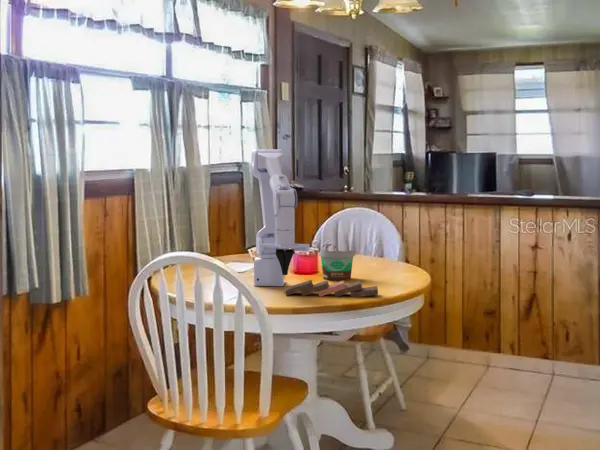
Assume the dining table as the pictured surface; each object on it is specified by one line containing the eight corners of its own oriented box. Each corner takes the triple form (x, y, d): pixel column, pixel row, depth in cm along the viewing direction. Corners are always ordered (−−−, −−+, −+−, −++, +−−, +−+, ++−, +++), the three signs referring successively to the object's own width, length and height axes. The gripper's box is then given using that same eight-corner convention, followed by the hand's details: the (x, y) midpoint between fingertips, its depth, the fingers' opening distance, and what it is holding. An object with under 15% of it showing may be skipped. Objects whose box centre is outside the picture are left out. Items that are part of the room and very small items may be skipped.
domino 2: (300, 291, 211) (326, 283, 210) (302, 288, 216) (327, 280, 215) (302, 296, 211) (327, 288, 210) (304, 293, 216) (328, 285, 215)
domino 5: (350, 292, 209) (377, 289, 208) (350, 289, 214) (377, 286, 213) (351, 297, 210) (378, 294, 209) (351, 294, 215) (377, 291, 214)
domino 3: (317, 291, 210) (343, 283, 209) (318, 288, 215) (343, 280, 214) (319, 296, 211) (344, 288, 210) (320, 293, 215) (345, 285, 214)
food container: (323, 282, 233) (323, 252, 232) (318, 279, 239) (319, 249, 238) (359, 281, 235) (359, 251, 234) (354, 277, 241) (354, 248, 240)
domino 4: (334, 292, 210) (360, 283, 209) (335, 288, 215) (360, 280, 214) (336, 297, 210) (361, 288, 209) (336, 293, 215) (362, 285, 214)
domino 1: (284, 290, 211) (310, 282, 210) (286, 287, 216) (311, 279, 215) (286, 295, 212) (311, 287, 211) (288, 292, 217) (313, 284, 216)
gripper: (258, 230, 209) (259, 276, 210) (307, 231, 207) (307, 277, 209) (262, 228, 216) (262, 272, 217) (310, 228, 214) (310, 273, 216)
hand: (285, 274), depth 213 cm, fingers closed
